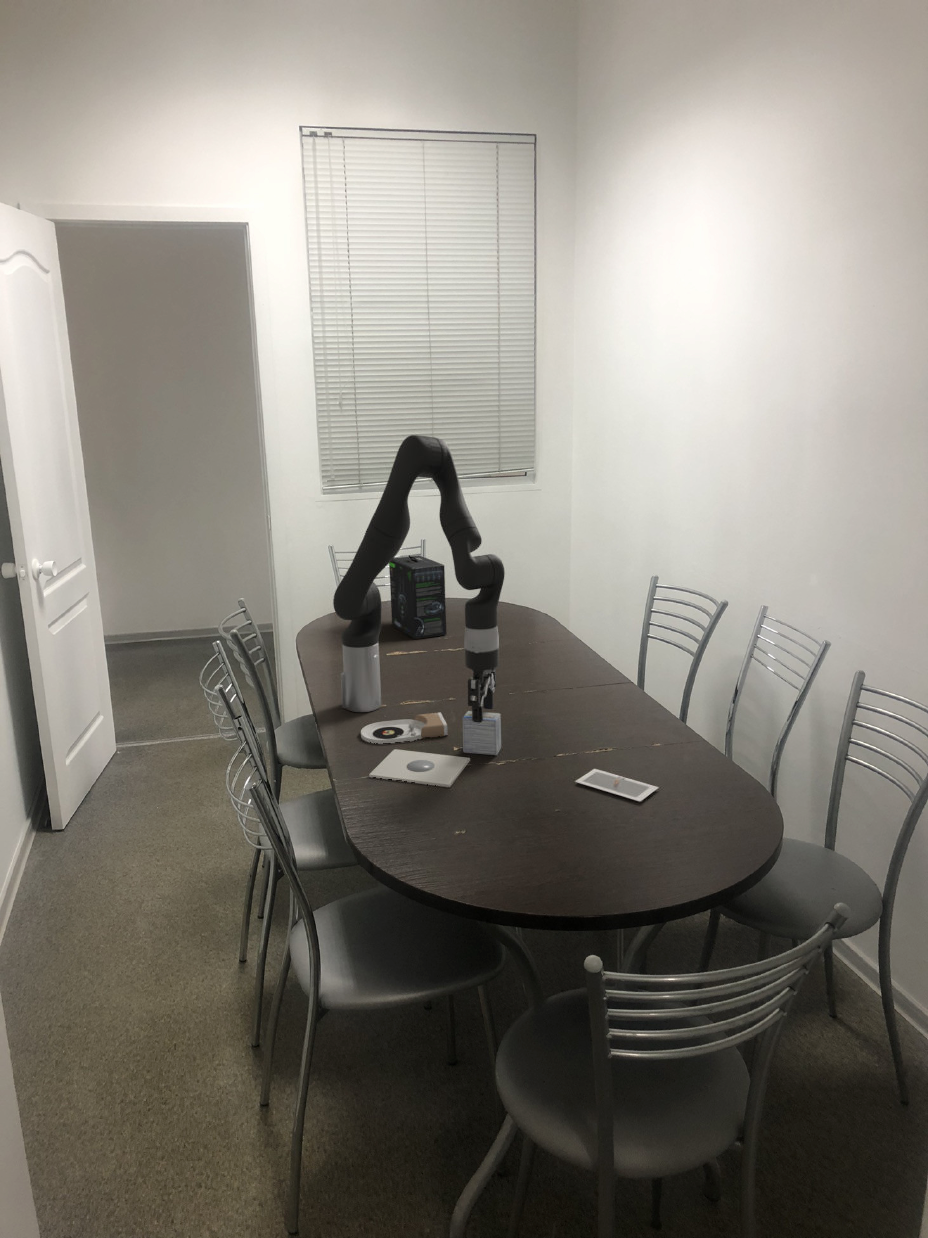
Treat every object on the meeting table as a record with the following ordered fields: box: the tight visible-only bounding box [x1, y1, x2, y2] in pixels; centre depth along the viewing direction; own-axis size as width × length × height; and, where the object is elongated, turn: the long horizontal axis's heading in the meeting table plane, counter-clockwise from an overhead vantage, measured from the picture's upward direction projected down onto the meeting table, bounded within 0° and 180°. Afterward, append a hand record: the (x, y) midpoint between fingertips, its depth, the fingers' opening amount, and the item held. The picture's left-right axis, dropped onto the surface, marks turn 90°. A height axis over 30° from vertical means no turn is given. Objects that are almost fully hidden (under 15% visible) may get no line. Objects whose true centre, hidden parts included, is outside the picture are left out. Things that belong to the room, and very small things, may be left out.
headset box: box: [388, 554, 448, 640], centre depth 296 cm, size 22×12×26 cm, turn 25°
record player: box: [360, 712, 449, 745], centre depth 209 cm, size 12×3×20 cm
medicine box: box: [462, 710, 502, 756], centre depth 197 cm, size 8×4×9 cm, turn 74°
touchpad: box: [574, 768, 660, 802], centre depth 179 cm, size 8×15×2 cm, turn 51°
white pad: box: [368, 748, 471, 788], centre depth 189 cm, size 18×14×1 cm
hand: (483, 715), depth 196 cm, fingers open, 8 cm apart
